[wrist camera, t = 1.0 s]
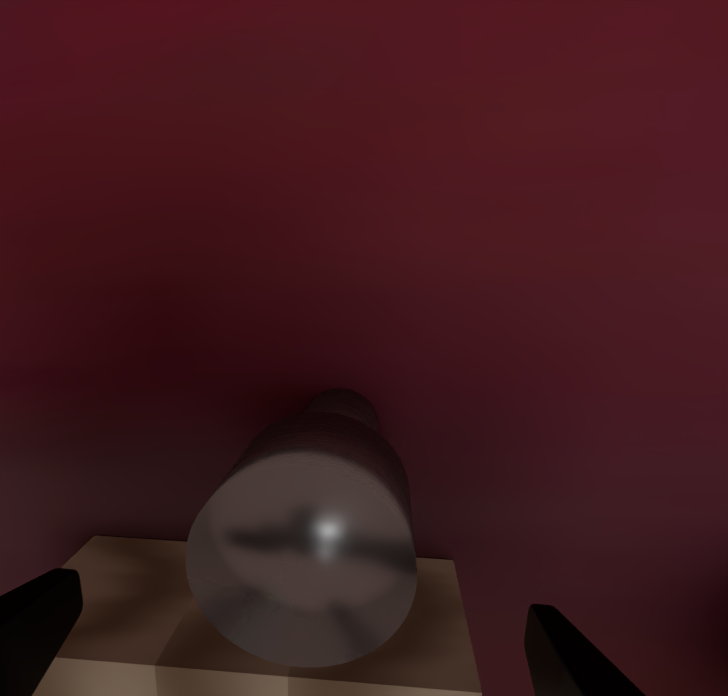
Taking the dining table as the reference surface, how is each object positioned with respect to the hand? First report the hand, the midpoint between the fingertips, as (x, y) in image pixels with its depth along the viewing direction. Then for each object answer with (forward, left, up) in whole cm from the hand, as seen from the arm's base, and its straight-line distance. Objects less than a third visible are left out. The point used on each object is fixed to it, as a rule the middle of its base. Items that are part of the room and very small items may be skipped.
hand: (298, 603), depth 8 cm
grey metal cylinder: (0, 0, -9) cm, 9 cm away
